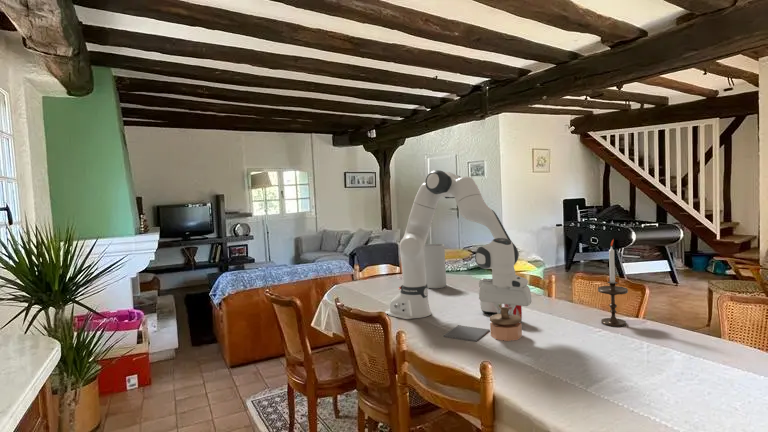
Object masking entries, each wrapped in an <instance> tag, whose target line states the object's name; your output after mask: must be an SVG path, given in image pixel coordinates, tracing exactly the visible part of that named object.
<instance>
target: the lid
mask: <svg viewBox="0 0 768 432" xmlns="http://www.w3.org/2000/svg"><path fill="white" fill-rule="evenodd" d="M508 311H509V308H508V307H505V306H502V307H501V314H495V315H490V316H489V321H490V323H491V322H493V323H496V324H501V325H512V324H517V323H522V321H521V317H520V316H518V315H514V314H513V315H512V316H510V315H508Z"/></svg>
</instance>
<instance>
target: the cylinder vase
mask: <svg viewBox="0 0 768 432" xmlns="http://www.w3.org/2000/svg"><path fill="white" fill-rule="evenodd" d="M424 259H425V267H426V284H427V286H428V289H435V290H437V289H443V288H446V286H447V272H446V252H445V244H444V243H427V244H426V243H425V247H424Z"/></svg>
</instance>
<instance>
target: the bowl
mask: <svg viewBox="0 0 768 432" xmlns="http://www.w3.org/2000/svg"><path fill="white" fill-rule="evenodd" d="M489 326H490V336H491V337H492V338H493V339H495V340H496V339H497V340H499V341H503V340H504V342H510V341H511V340H512V341H517V340H519V339H521V337H523V330H522V328H523V327H522V322H520V323H517V324H512V325H501V324H496V323H493V322H491V321H490V324H489ZM512 341H511V342H512Z"/></svg>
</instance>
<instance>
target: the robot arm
mask: <svg viewBox="0 0 768 432" xmlns="http://www.w3.org/2000/svg"><path fill="white" fill-rule="evenodd" d="M442 198H444V199H455V202H456V205H457V209H458V211H459V213H460V215H461V216H462V218H464V219H465V220H467V221H469V222H473V223H478V224H481V225H483V226H485V227H486V228H487V229H488V230H489V232H490V233H491V235H492V236H493V239H492V240H491V242H489V243H488V244H484V245H482V246H479V247H477V249H476V251H475V257H474V260H475V262H476V264H477V266H478V267H479V268H481V269H485V270H490V269H491V278H482V279H479V281H478V287H479V293H478V300H479V302H480V301H481V302H491V303H494V306H495V308H496V309H497V314H501V309H500V307H499V306H498V305H499V303H500V304H502V305H504V304H510V305H511V307H512V309H511V310H509V311H508V315H510V316H512V315H513V310H514V308H515V307H516V305H519V306H521V307H529V306H530V305H531V304H532V294H531V293H532V292H531V288H530V287H529V286H528V284H529V280H528V278H526V277H525V278H524V277H523V276H520V275H518V274H516V269H515V265H516V264H517V262H518V259H519V256H520V254H519V250H518V248H517V246H516V245H515V243H513V241H512V239H511V238H510V236H509V234H508V233H507V231H506V229H505V227H504V225H503V223H502V222H501V219H500V218H499V217H498V215H497V213H496V212H495V211H494V209H491V207H489V206H488V205H487V203H486V202H485V200H484V199H483V195H482V193H481V191H480V189H479V187H478V185H477V184H476V181H475V180H474V178H473V177H470V176H460V175H457V174H455V173H452V172H449V171H443V170H438V169H436V170H432V171H430V172H429V173H428V174H427V176H426V178H425V182H423V183H422V184H421V185H420V186H419V188H418V191H417V193H416V195H415V197H414V200H413V204H412V206H411V209H410V213H409V215H408V220H407V224H406V227H405V231H404V235H403V237H402V238H401V240H400V242H399V253H400V255H399V256H400V263H401V270H402V283H403V284H402V285H400V286H398V290H400V292H399V293H397V294H396V296H394V297H393V298H392V299H391V301H390V303H389V308H388V309H386V310H385V313H386V314H388V315H387V316H391V317H396V318H399V319H404V320H411V319H421V318H426V317H428V316H430V315H432V311H431V307H430V304H429V298H428V297H429V288H428V286H427V284H426V267H425V259H424V247H425V245H426V243H427V240H428V236H429V233H430V230H431V227H432V224H433V223H432V222H433V220H434V217H435V214H436V210H437V207H438V204H439V202H440V200H441V199H442ZM385 313H384V314H385ZM386 314H385V315H386Z"/></svg>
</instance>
